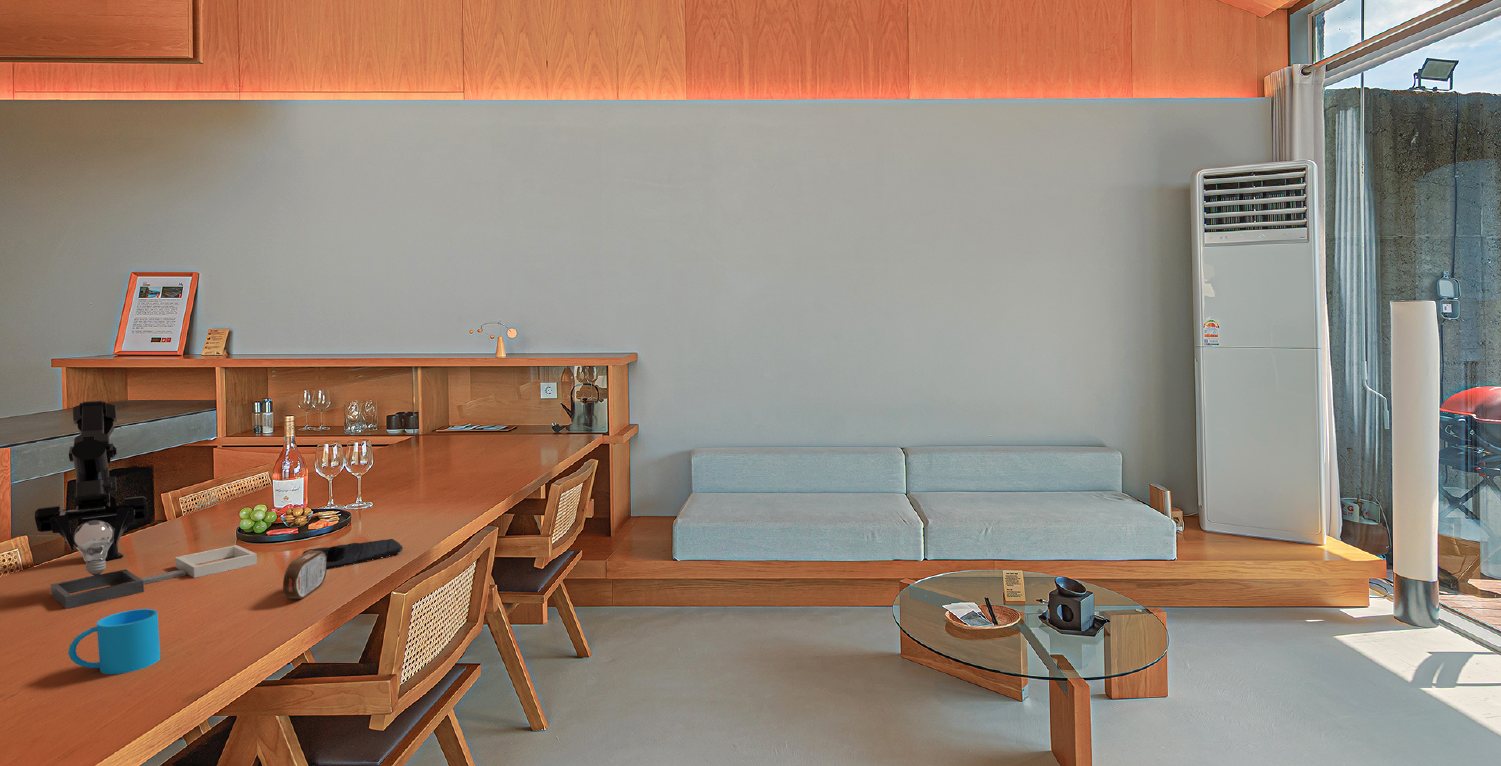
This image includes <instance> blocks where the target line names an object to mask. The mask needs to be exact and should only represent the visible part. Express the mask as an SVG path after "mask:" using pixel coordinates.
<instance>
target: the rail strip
mask: <svg viewBox="0 0 1501 766" xmlns="http://www.w3.org/2000/svg"><path fill="white" fill-rule="evenodd" d="M186 575H187V573H186V572H185V571H183V570H182V569H181V570H179V569H177V570H173V571H169V572H164V573H159V574H153V575H149V576H143V577H139V578H140V579H142V580H143V585H148V584H152V583H156V581H157V582H160V581H165V580H171V579H175V578H174V577H176V578H180V577H184V576H185V577H186ZM170 578H171V579H170Z"/></svg>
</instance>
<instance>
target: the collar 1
mask: <svg viewBox="0 0 1501 766" xmlns="http://www.w3.org/2000/svg"><path fill="white" fill-rule="evenodd" d="M140 578H141V577H139V576H137V575H135V574H134V573H133V572H131V571H129V570H127V569H126V568H125V569H121V570H120V569H119V570H116V571H115V570H114V571H111V572H107V573H106V572H105V573H101V574H99V575H90V576H85V577H81V578H76V579H75V578H74V579H71V580H66V581H61V582H55V583H51V584H50V596H51V597H52V598H54V600H56V601H57V603H59V604H60V605H61V606H63V607H64V608H65V610H67V609H72V608H76V607H77V608H78V607H81V606H86V605H90V604H94V602H95V603H99V602H104V601H107V599H109V600H112V599H118V598H121V596H122V597H125V596H124V595H127V596H131V595H135V594H134V593H136V594H139V593H138V592H140V593H144V592H145V588H144V585H145V584H143V580H142V579H140ZM119 583H120V584H119ZM109 584H110V585H109ZM81 591H82V592H81ZM117 597H118V598H117Z"/></svg>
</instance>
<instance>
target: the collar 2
mask: <svg viewBox="0 0 1501 766" xmlns="http://www.w3.org/2000/svg"><path fill="white" fill-rule="evenodd" d="M174 562H175V563H174V564H175V568H176V569H177V570H181V569H182V570H183V571H185V572H186V575H189V576H190V577H192V578H194V579H197V578H201V577H205V576H211V575H215V574H219V573H224V572H228V570H229V571H232V570H237V569H242V568H246V567H250V566H255V565H258V554H257V553H256V552H253V551H250V550H249V549H247V548H244V547H242V546H239V545H237V544H235V545H230V546H225V547H220V548H216V549H215V548H214V549H209V550H205V551H201V552H196V553H190V554H185V555H180V556H175V557H174Z"/></svg>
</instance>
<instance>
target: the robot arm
mask: <svg viewBox="0 0 1501 766" xmlns="http://www.w3.org/2000/svg"><path fill="white" fill-rule="evenodd" d="M72 419H73V420H72V422H73V424H74V425H77V429H78V432H79V435H77V436H75V437H74V438H73V446H70V447H69V451H68V459H69V462H71V463H73V466H74V467H73V468H74V470H75V475H76V477H75V480H76V481H75V482H76V483H75V493H74V506H75V507H76V509H72V510H71V509H70V510H66V509H61V505H60V504H59V505H51V506H43V507H38V508H37V509H36V510H35V511H34V521H35V524H36V529H37V531H38V532H40V533H45V532H52V533H53V534H59V535H60V536H61V537H62V538H63V539H64V540H65V542H66V544H67V546H68V547H69V549H70V551H74V550H75V546H74V544H73V535H72V531H71V525H70V521H72V520H77V523H78V527H79V526H80V525H81V524H83V523H85V522H87V521H91V520H101V521H104V522H106V523H108V524H109V525H111V527H112V528H113V530H114V541H113V542H112V544H111V546H110V547H109V549H108V551H107V557H106V559H105V561H109V560H115V559H121V558H123V557H124V554H122V552H119V545H118V544H119V541H120V540H121V537H122V536H123V534H124V532H127V531H128V526H129V525H132V524H134V523H135V522H136V521H140V520H146V519H148V518H149V517H148V516H149V515H148V513H149V511H148V501H147V497H145V496H144V495H143V496H133V497H132V496H131V497H125V498H124V501H123V502H124V504H119V503H118V501H117V500H116V498H115V497H114V496H113V495H112V494H111V493H117V492H118V491H117V476H110V467H109V464H111V459H114V458H116V455H117V454H118V447H115V445H114V443H110V436H111V435H112V433H113V432H114V431H115V422H117V421H118V416H117V407H116V405H115V404H111V403H107V402H106V401H103V400H89V401H83V402H80V403H79V405H76V406H73V407H72ZM117 423H118V422H117Z"/></svg>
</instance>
